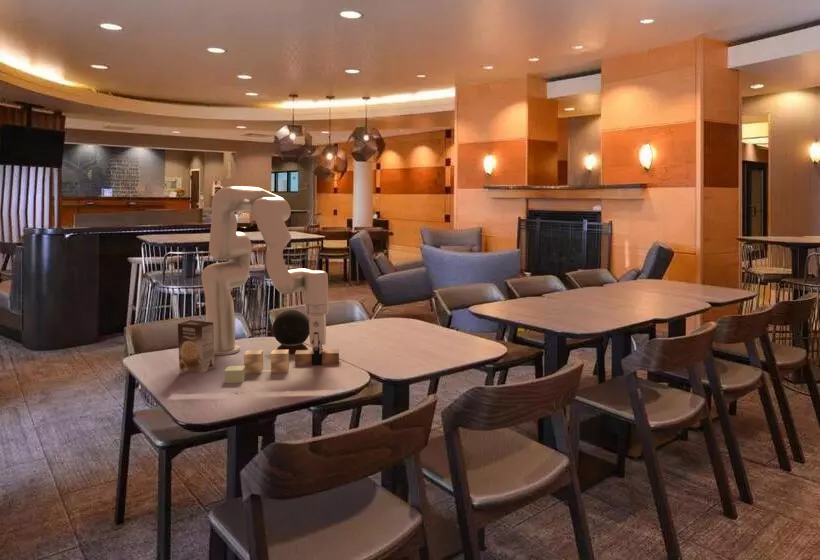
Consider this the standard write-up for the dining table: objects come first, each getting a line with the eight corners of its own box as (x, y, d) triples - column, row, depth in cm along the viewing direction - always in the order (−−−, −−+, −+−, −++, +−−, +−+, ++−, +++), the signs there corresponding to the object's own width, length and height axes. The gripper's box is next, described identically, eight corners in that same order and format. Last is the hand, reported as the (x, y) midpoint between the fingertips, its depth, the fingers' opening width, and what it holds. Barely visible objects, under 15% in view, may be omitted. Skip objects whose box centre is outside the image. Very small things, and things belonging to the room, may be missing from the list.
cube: (225, 387, 176) (224, 370, 175) (228, 382, 181) (228, 365, 180) (242, 386, 176) (242, 370, 176) (245, 381, 181) (245, 365, 181)
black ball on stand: (273, 357, 209) (272, 314, 207) (272, 348, 222) (271, 307, 220) (312, 354, 213) (311, 312, 211) (309, 346, 225) (308, 306, 223)
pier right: (271, 372, 186) (270, 353, 185) (273, 368, 191) (272, 349, 190) (287, 372, 186) (287, 353, 185) (289, 368, 191) (288, 349, 190)
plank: (295, 369, 195) (294, 354, 195) (296, 365, 200) (296, 350, 200) (339, 368, 197) (338, 353, 196) (339, 364, 202) (338, 349, 201)
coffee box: (178, 374, 188) (175, 323, 186) (192, 368, 194) (189, 319, 192) (203, 377, 185) (200, 325, 183) (216, 371, 191) (214, 321, 189)
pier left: (244, 373, 185) (243, 354, 184) (247, 369, 190) (246, 350, 189) (261, 373, 185) (260, 354, 185) (263, 368, 190) (262, 350, 190)
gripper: (327, 313, 188) (328, 370, 190) (329, 304, 205) (329, 356, 207) (302, 314, 187) (304, 370, 190) (306, 304, 204) (307, 356, 207)
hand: (317, 362), depth 199 cm, fingers open, 5 cm apart
